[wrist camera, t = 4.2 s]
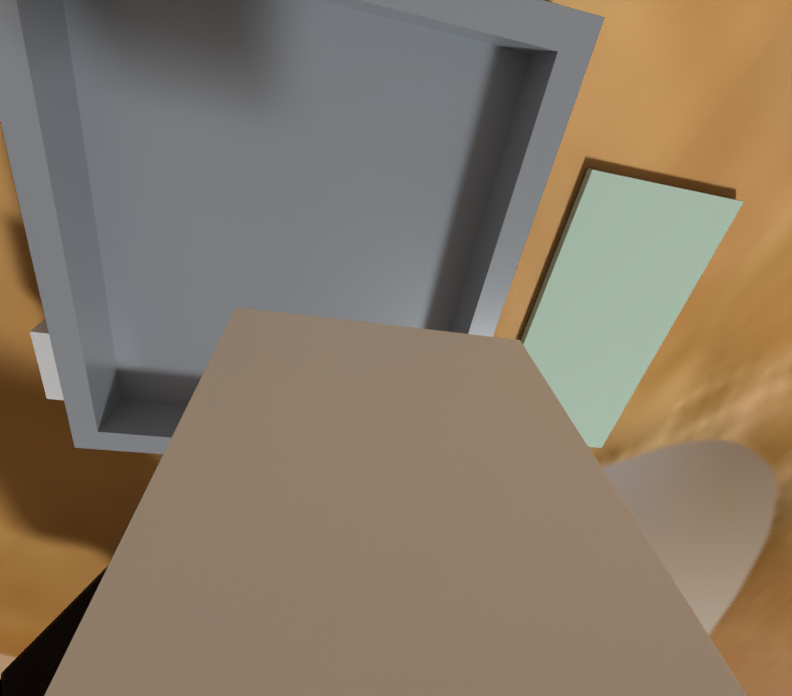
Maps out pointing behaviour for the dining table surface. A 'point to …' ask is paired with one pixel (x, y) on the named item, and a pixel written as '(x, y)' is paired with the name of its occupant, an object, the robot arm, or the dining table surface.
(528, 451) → the block
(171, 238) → the grey flat square tray
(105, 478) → the dining table surface
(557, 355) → the pad
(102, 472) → the dining table surface
